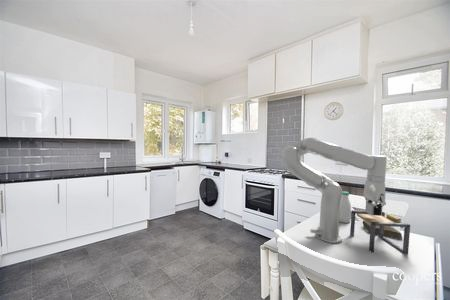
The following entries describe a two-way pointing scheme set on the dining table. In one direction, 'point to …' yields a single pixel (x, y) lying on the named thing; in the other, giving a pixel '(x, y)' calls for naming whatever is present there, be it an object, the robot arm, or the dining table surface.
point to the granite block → (371, 208)
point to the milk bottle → (345, 208)
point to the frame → (381, 231)
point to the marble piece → (387, 230)
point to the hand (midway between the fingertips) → (373, 212)
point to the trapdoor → (380, 218)
